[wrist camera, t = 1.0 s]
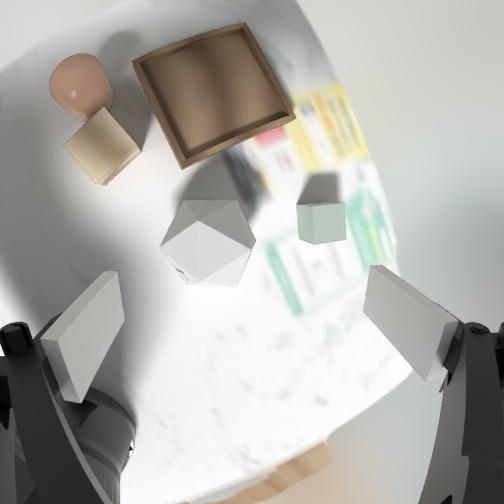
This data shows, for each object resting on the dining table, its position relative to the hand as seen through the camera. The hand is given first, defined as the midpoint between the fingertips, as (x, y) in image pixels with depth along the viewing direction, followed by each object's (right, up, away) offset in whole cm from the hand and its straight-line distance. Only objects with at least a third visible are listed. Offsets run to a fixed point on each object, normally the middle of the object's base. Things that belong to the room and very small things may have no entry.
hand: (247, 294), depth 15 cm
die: (-5, +4, +17) cm, 18 cm away
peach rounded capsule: (-17, +18, +11) cm, 27 cm away
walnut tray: (-4, +19, +14) cm, 24 cm away
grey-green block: (+7, +6, +20) cm, 22 cm away
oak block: (-14, +12, +12) cm, 23 cm away
